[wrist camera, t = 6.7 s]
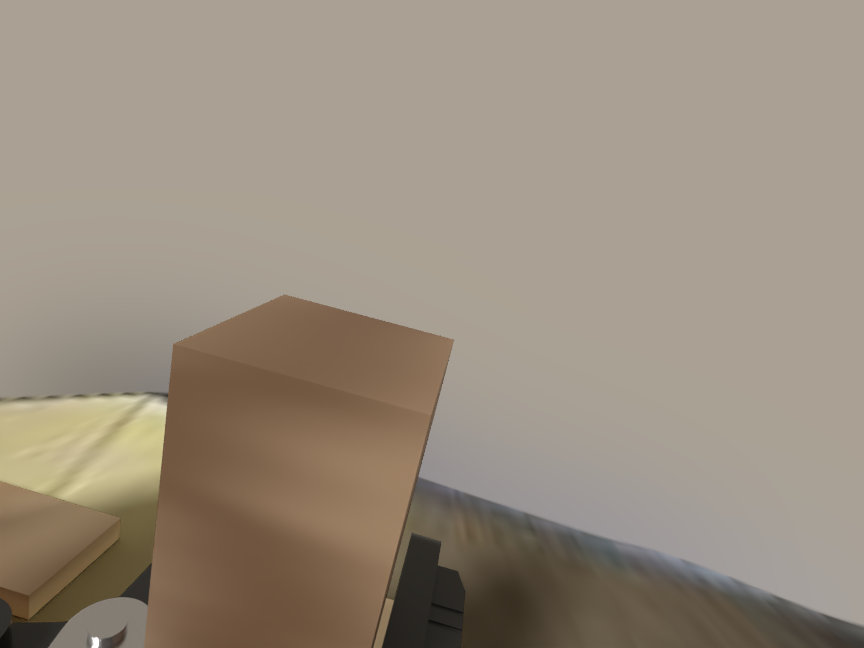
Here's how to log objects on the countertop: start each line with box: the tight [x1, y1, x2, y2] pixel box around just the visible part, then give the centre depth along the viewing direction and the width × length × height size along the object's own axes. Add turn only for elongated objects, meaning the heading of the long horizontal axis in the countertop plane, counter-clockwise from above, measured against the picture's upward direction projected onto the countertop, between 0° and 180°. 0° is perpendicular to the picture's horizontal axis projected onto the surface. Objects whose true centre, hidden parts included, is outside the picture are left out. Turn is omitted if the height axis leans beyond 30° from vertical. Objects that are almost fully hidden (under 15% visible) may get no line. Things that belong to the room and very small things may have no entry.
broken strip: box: [0, 482, 394, 648], centre depth 18 cm, size 22×4×1 cm, turn 82°
